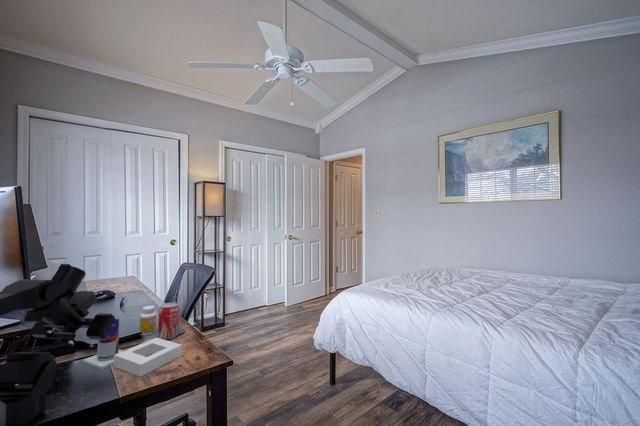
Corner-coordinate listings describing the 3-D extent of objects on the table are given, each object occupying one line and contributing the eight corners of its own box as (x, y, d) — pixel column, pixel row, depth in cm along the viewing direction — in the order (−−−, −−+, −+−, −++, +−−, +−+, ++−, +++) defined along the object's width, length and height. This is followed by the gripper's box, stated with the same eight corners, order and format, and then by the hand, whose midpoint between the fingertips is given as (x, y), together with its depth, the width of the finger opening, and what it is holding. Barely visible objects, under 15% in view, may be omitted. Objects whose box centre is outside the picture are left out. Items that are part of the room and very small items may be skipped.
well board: (140, 376, 83) (140, 364, 83) (113, 366, 88) (114, 355, 88) (181, 355, 96) (181, 344, 96) (156, 347, 101) (156, 337, 101)
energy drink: (113, 360, 90) (114, 321, 90) (93, 361, 89) (94, 322, 89) (121, 352, 95) (122, 315, 95) (102, 353, 94) (103, 316, 94)
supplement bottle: (136, 333, 112) (137, 308, 112) (150, 328, 116) (151, 304, 116) (145, 336, 109) (145, 310, 109) (158, 331, 114) (159, 306, 114)
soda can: (158, 334, 111) (159, 302, 111) (179, 331, 114) (180, 301, 114) (156, 342, 105) (157, 308, 105) (178, 339, 108) (179, 306, 108)
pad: (101, 369, 86) (101, 366, 86) (83, 362, 90) (83, 359, 90) (131, 356, 94) (131, 353, 94) (114, 350, 98) (114, 347, 98)
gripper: (111, 285, 79) (135, 312, 90) (42, 283, 79) (74, 310, 90) (88, 325, 71) (117, 349, 82) (10, 323, 71) (50, 347, 82)
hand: (90, 337), depth 84 cm, fingers open, 9 cm apart
